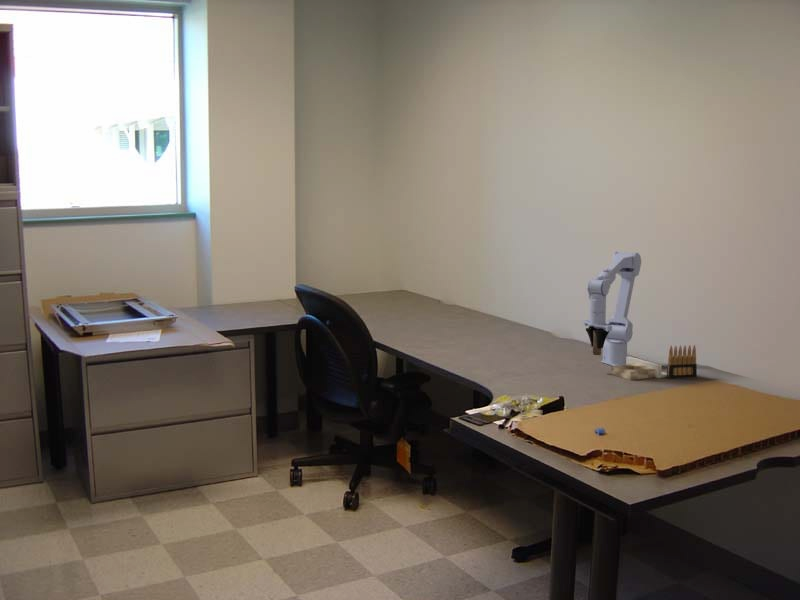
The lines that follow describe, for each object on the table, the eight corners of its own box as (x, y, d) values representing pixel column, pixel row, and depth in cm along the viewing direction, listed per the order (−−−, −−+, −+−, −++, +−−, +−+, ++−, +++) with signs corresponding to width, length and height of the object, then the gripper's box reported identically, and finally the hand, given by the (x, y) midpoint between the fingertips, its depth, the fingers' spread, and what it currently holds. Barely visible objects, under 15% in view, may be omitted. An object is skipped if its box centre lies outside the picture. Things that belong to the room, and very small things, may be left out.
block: (611, 373, 320) (611, 366, 319) (634, 370, 324) (635, 363, 324) (630, 380, 310) (630, 372, 310) (654, 376, 314) (654, 368, 314)
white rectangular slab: (626, 368, 329) (626, 356, 328) (637, 366, 331) (637, 355, 331) (658, 378, 313) (658, 365, 312) (670, 376, 315) (670, 364, 314)
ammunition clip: (668, 378, 312) (669, 346, 310) (666, 377, 314) (667, 345, 312) (696, 377, 313) (698, 345, 311) (694, 376, 315) (695, 344, 313)
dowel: (591, 353, 322) (591, 330, 321) (597, 353, 324) (598, 329, 322) (596, 355, 320) (596, 331, 318) (602, 354, 321) (603, 330, 320)
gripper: (577, 309, 324) (576, 344, 326) (601, 315, 311) (600, 351, 313) (592, 308, 327) (591, 343, 329) (617, 313, 314) (616, 350, 316)
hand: (597, 347), depth 321 cm, fingers closed on dowel, 3 cm apart
